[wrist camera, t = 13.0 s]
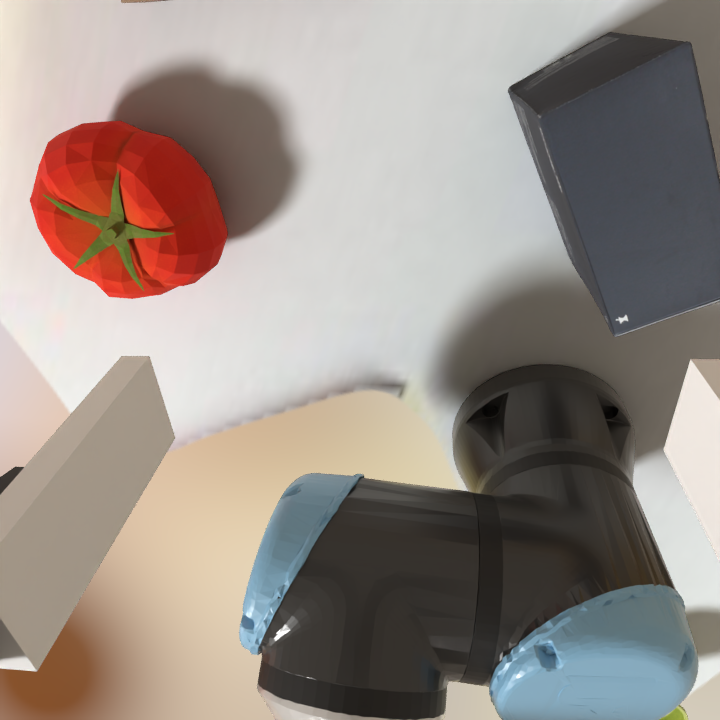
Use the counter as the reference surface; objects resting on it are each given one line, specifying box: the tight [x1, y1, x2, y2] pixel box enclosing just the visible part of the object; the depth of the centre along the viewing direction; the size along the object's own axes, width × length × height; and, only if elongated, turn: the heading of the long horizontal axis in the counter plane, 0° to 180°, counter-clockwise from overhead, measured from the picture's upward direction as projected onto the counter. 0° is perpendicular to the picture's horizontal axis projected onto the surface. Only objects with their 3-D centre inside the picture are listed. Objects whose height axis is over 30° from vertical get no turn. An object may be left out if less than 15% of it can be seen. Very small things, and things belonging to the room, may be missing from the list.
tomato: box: [30, 121, 228, 299], centre depth 39 cm, size 13×12×8 cm
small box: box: [508, 32, 720, 337], centre depth 32 cm, size 13×7×12 cm, turn 28°
